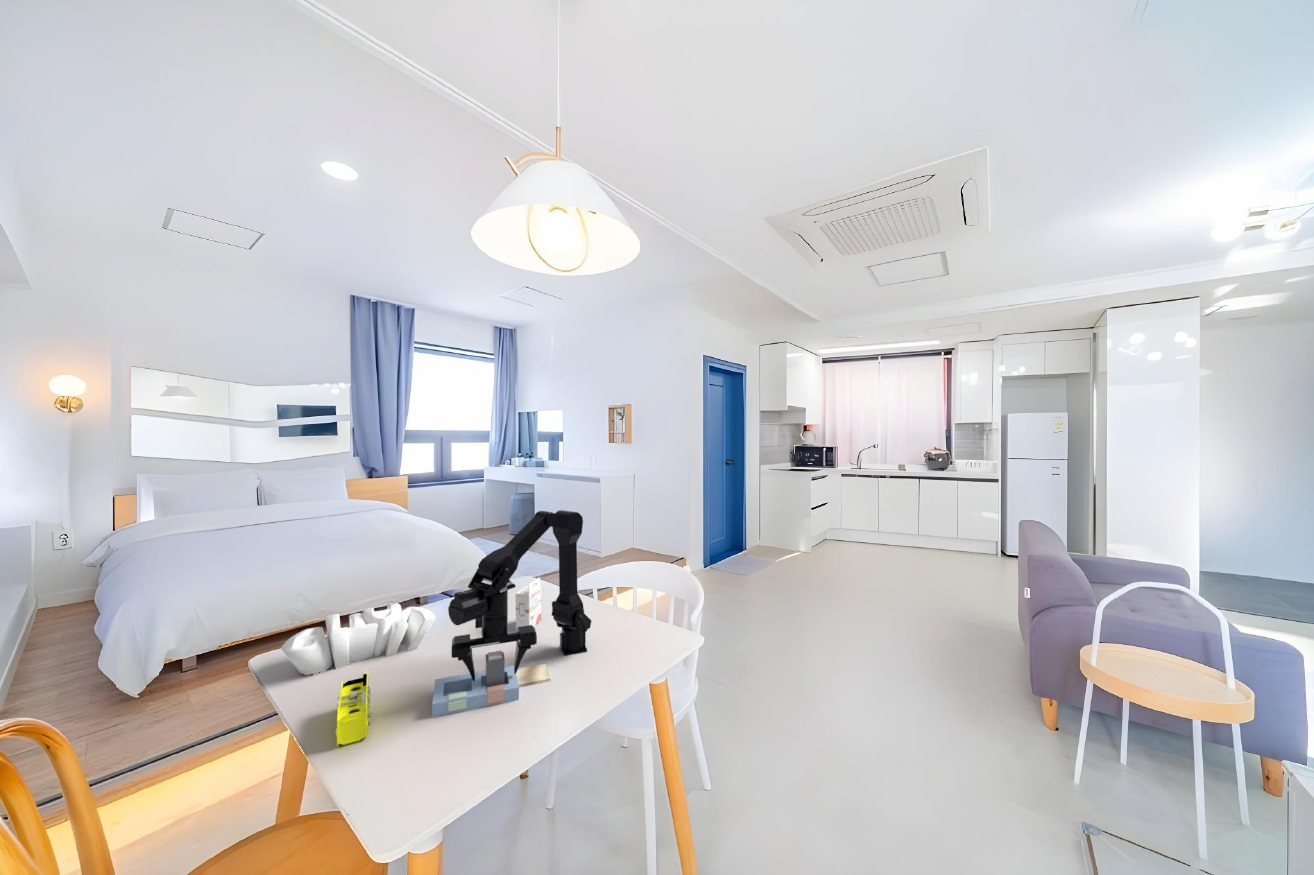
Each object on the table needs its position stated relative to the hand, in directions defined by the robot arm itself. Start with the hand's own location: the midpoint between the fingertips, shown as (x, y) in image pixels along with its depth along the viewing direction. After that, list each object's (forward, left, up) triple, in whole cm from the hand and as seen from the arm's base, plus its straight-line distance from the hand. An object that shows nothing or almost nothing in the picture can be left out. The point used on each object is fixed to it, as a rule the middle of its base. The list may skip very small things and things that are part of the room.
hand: (494, 676), depth 109 cm
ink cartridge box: (-12, -37, -4) cm, 39 cm away
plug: (0, 0, -3) cm, 3 cm away
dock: (+4, 0, -4) cm, 6 cm away
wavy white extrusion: (+33, -34, -4) cm, 47 cm away
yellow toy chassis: (+28, +2, -4) cm, 28 cm away
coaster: (-9, -4, -4) cm, 11 cm away
